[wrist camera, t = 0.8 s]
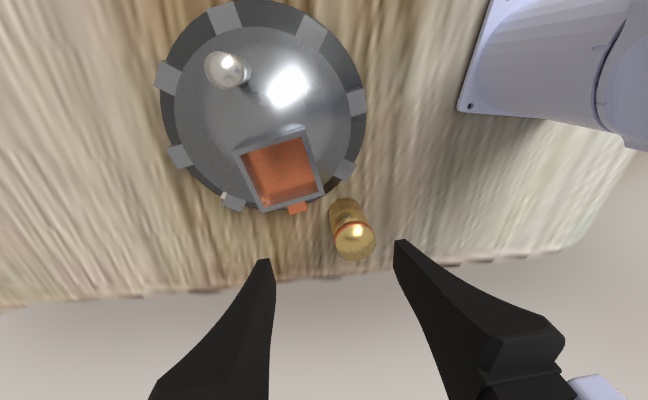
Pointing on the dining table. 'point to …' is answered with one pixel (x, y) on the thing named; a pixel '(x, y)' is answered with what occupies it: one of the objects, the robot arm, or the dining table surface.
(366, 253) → the roller
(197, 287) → the dining table surface
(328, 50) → the base flange
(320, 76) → the grey toothed wheel
